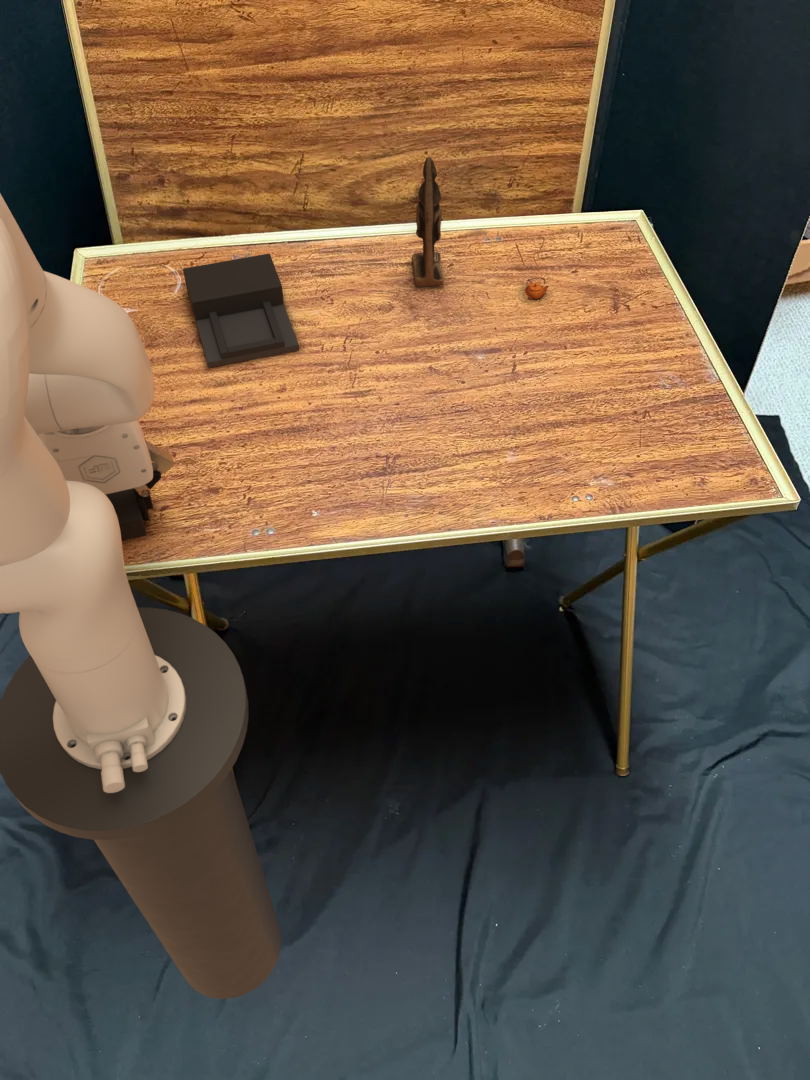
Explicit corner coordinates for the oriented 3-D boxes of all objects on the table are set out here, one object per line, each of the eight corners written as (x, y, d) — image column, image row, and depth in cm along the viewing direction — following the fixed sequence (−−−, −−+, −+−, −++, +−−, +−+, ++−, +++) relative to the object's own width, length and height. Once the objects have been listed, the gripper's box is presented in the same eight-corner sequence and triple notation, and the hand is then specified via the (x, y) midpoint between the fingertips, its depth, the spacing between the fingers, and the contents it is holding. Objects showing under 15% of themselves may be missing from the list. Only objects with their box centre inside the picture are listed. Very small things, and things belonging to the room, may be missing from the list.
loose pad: (146, 535, 108) (141, 518, 106) (101, 545, 107) (94, 528, 105) (139, 496, 112) (133, 478, 109) (95, 505, 111) (88, 488, 108)
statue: (439, 260, 139) (446, 128, 124) (445, 291, 135) (452, 159, 119) (410, 261, 139) (413, 129, 123) (415, 292, 135) (418, 160, 119)
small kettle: (529, 285, 136) (531, 269, 134) (548, 292, 135) (551, 276, 133) (520, 296, 135) (522, 280, 133) (539, 303, 134) (541, 287, 132)
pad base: (299, 350, 127) (297, 326, 124) (208, 368, 125) (203, 344, 122) (272, 277, 137) (269, 253, 133) (187, 292, 134) (182, 268, 131)
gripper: (-10, 445, 91) (44, 561, 105) (172, 408, 94) (201, 525, 109) (-14, 392, 95) (39, 510, 110) (160, 358, 99) (189, 477, 113)
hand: (119, 516), depth 109 cm, fingers closed on loose pad, 5 cm apart
